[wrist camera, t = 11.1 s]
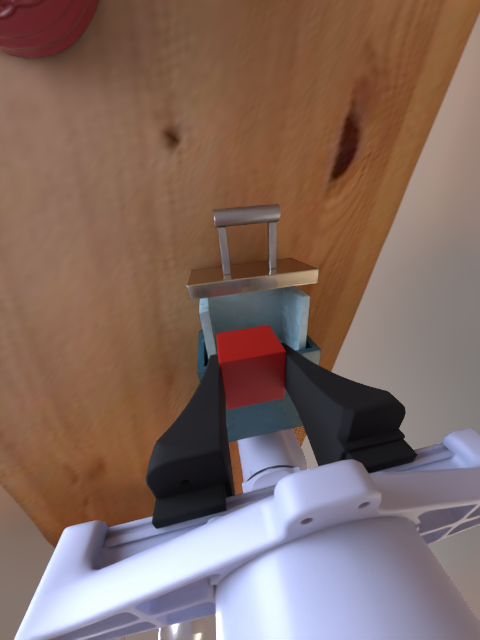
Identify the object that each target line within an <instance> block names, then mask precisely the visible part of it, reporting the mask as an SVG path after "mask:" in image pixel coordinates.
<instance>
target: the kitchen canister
mask: <svg viewBox="0 0 480 640" xmlns="http://www.w3.org/2000/svg"><path fill="white" fill-rule="evenodd" d="M97 3H98V0H0V51H1V52H4V53H7V54H11V55H15V56H21V57H45V56H50V55H53V54H56V53H59V52H61V51H63V50H65V49H67V48H68V47H69V46H71V45H72V44H73V43H75V42H76V41H77V40H78V39H79V38H80V36H81V35H82V34H83V33H84V31H85V30H86V28H87V27H88V25H89V23H90V21H91V19H92V17H93V15H94V12H95V10H96V7H97Z"/></svg>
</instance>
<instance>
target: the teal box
mask: <svg viewBox="0 0 480 640" xmlns="http://www.w3.org/2000/svg"><path fill="white" fill-rule="evenodd" d="M295 351H296V352H298V353H299V354H301V355H302V356H304V357H305V358H307V359H308V360H310V361H312V362H313V363H315V364H317V365H318V366H319V361H320V354H321V349H320V348H319V347H318V346H317V345H316V344H315V343H314V342H313V341H312V339H311V338H310V337H309V336H308V335H307V336H306V347H305V349H301V350H295ZM208 361H209V359H208V354H207V349H206V344H205V339H204V334H203V331H199V345H198V366H197V373H198V377H199V381H200V382H201V380H202V378H203V375H204V373H205V370H206V367H207V364H208ZM226 425H227V434H228V442H232V441H237V440H241V439H246V438H250V437H255V436H259V435H264V434H268V433H273V432H277V431H282V430H286V429H291V428H295V427H300V426H303V424H302V421H301V419H300V417H299V414H298V412H297V410H296V408H295V406H294V404H293V402H292V400H291V398H290V396H289V394H288V393H287V391H286V389H285V398H283V399H278V400H273V401H268V402H263V403H258V404H253V405H248V406H243V407H238V408H234V409H229V410H228V409H227V406H226Z"/></svg>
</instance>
